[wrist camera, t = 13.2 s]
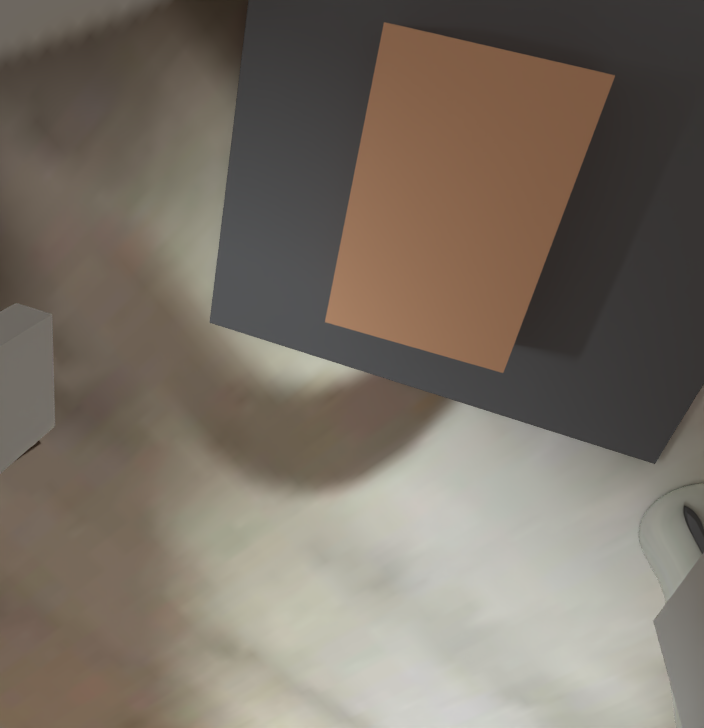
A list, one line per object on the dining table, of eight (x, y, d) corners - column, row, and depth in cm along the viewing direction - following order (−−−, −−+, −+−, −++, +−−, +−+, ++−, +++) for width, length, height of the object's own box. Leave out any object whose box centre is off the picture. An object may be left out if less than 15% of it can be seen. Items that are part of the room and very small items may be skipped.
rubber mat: (213, 319, 30) (209, 322, 30) (277, -204, 20) (273, -208, 20) (652, 458, 28) (654, 463, 28) (958, -47, 19) (966, -48, 18)
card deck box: (324, 322, 25) (384, 22, 20) (342, 296, 28) (398, 25, 22) (503, 373, 24) (615, 75, 19) (503, 341, 27) (602, 72, 22)
